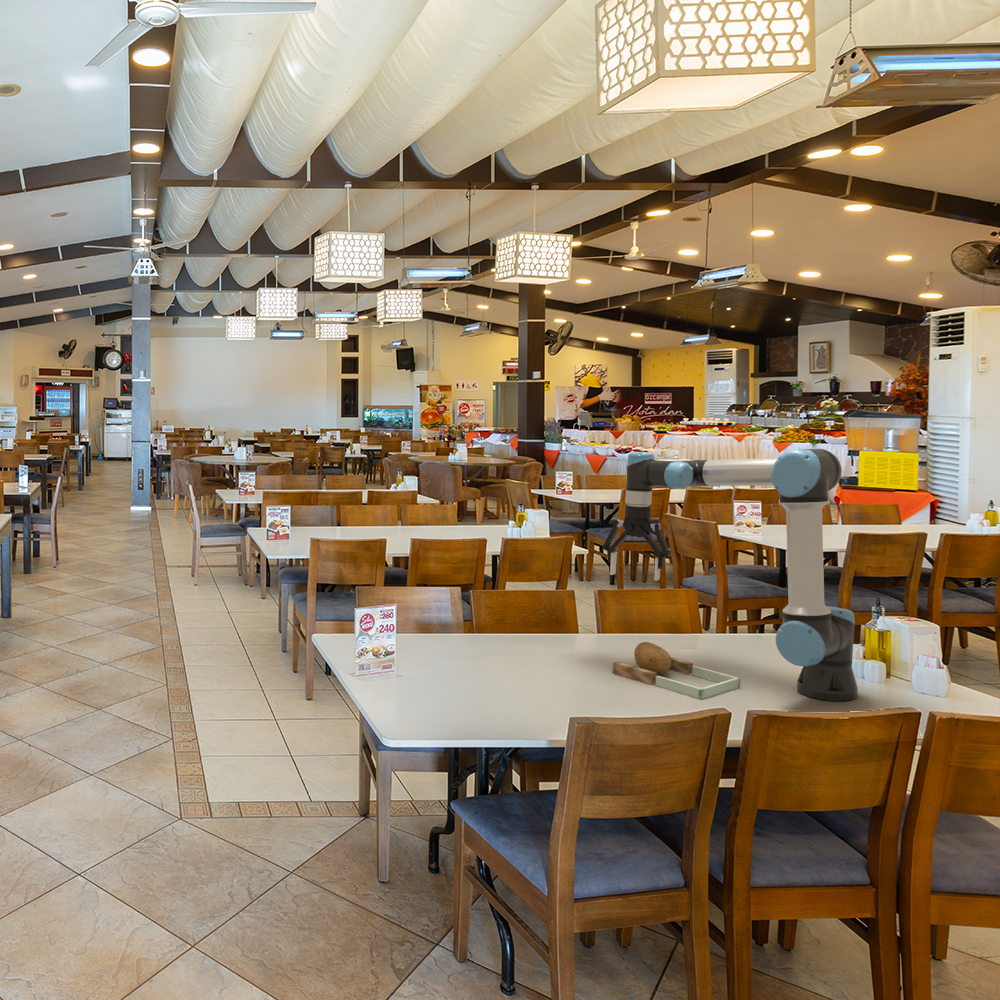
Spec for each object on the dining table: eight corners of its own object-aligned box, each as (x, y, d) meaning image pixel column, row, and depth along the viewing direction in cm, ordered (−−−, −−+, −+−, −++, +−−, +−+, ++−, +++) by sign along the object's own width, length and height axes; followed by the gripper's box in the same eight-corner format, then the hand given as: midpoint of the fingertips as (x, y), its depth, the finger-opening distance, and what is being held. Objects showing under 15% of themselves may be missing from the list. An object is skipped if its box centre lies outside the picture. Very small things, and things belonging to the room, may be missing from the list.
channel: (692, 673, 247) (692, 663, 247) (651, 684, 235) (651, 673, 235) (653, 662, 257) (654, 652, 257) (612, 673, 246) (613, 662, 246)
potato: (648, 681, 238) (649, 652, 238) (626, 667, 252) (627, 640, 251) (680, 679, 241) (681, 650, 240) (656, 665, 254) (657, 638, 254)
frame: (740, 687, 234) (740, 678, 234) (701, 699, 223) (702, 689, 223) (694, 674, 246) (694, 665, 246) (655, 685, 235) (656, 676, 235)
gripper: (683, 507, 251) (679, 580, 253) (603, 500, 263) (599, 570, 265) (675, 509, 244) (671, 584, 246) (593, 502, 256) (590, 573, 258)
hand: (634, 577), depth 256 cm, fingers open, 13 cm apart
